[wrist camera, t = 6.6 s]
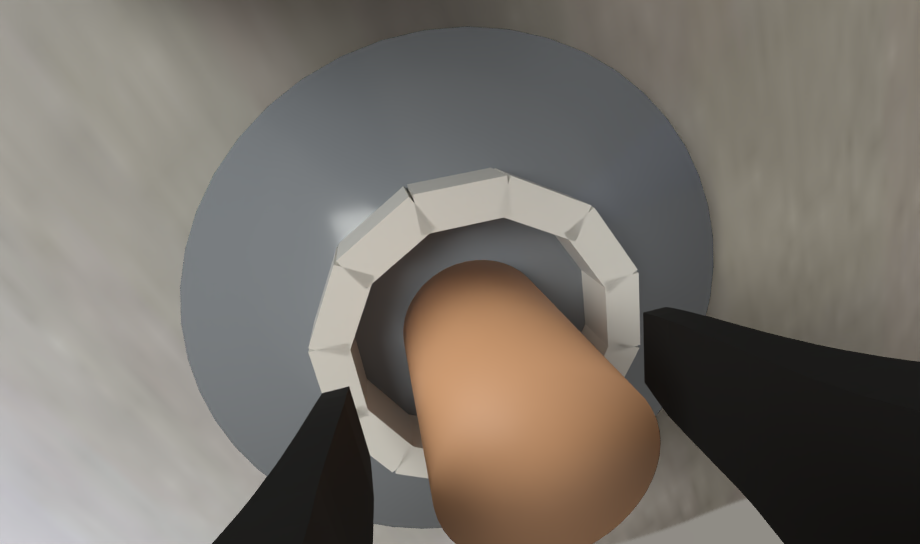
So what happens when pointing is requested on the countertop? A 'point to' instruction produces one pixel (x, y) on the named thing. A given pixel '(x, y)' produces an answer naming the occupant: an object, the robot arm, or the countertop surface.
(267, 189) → the tray
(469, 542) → the tan rounded block
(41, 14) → the countertop surface
